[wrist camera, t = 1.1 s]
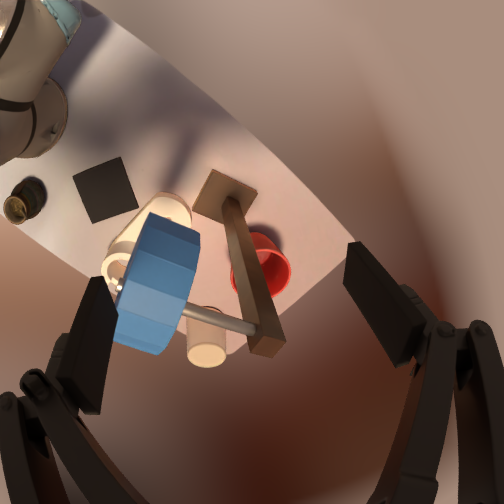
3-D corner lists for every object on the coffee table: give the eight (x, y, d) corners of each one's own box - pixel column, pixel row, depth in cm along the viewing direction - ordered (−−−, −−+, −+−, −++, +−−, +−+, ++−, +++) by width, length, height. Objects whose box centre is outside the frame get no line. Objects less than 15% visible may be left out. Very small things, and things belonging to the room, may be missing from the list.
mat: (73, 175, 48) (72, 176, 47) (120, 156, 48) (119, 157, 47) (93, 222, 53) (92, 224, 52) (139, 207, 53) (138, 208, 53)
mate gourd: (17, 177, 45) (-10, 196, 36) (47, 174, 46) (22, 193, 38) (22, 211, 48) (-2, 234, 40) (51, 210, 50) (30, 234, 41)
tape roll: (120, 283, 31) (99, 363, 21) (156, 193, 27) (135, 257, 17) (157, 297, 32) (149, 379, 23) (200, 211, 28) (202, 282, 19)
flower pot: (217, 265, 62) (221, 295, 54) (237, 217, 58) (244, 242, 49) (265, 277, 66) (275, 306, 57) (287, 233, 61) (301, 258, 53)
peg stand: (151, 189, 52) (102, 332, 22) (170, 149, 49) (128, 255, 19) (235, 226, 58) (276, 380, 29) (256, 190, 55) (325, 326, 26)
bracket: (134, 280, 61) (129, 300, 55) (101, 255, 57) (93, 274, 51) (200, 215, 56) (200, 231, 50) (165, 184, 52) (161, 197, 46)
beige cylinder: (230, 343, 59) (227, 308, 67) (184, 341, 57) (186, 306, 66) (225, 374, 64) (223, 340, 73) (185, 373, 63) (186, 339, 72)
